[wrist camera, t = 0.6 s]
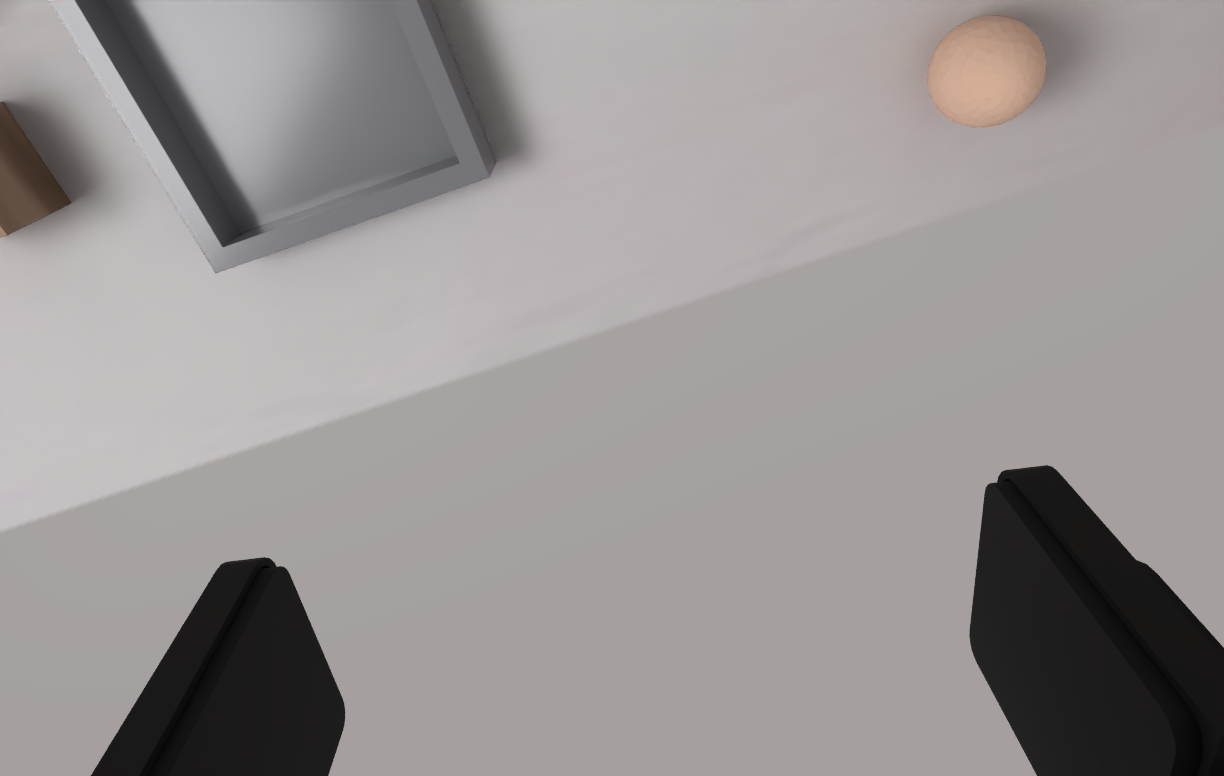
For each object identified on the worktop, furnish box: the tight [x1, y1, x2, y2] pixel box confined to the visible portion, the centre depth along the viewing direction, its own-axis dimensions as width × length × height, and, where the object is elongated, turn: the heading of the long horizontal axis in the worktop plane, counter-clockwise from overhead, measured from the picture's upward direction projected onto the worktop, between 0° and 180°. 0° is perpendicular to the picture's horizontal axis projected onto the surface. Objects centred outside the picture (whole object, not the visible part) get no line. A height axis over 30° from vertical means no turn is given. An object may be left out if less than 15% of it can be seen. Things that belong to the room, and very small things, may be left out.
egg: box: [928, 15, 1046, 127], centre depth 34 cm, size 4×4×6 cm
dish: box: [48, 0, 496, 273], centre depth 35 cm, size 14×14×3 cm
